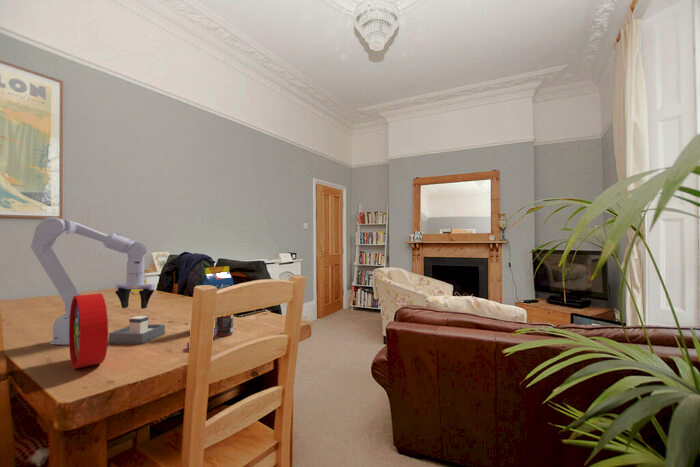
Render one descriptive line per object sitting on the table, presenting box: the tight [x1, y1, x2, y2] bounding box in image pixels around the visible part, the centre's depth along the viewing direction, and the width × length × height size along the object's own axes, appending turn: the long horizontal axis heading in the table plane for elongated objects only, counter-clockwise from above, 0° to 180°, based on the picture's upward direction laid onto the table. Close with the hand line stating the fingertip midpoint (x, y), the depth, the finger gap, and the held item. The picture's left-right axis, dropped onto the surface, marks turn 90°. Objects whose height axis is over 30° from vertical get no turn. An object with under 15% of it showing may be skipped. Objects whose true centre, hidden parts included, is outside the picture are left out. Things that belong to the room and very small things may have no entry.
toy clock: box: [68, 292, 109, 370], centre depth 89 cm, size 20×6×20 cm, turn 48°
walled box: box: [108, 323, 166, 345], centre depth 113 cm, size 12×12×4 cm
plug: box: [128, 315, 149, 333], centre depth 113 cm, size 4×4×7 cm
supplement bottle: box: [215, 313, 234, 337], centre depth 119 cm, size 6×6×11 cm
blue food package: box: [199, 265, 235, 329], centre depth 130 cm, size 6×12×25 cm, turn 153°
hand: (134, 308), depth 121 cm, fingers open, 7 cm apart
